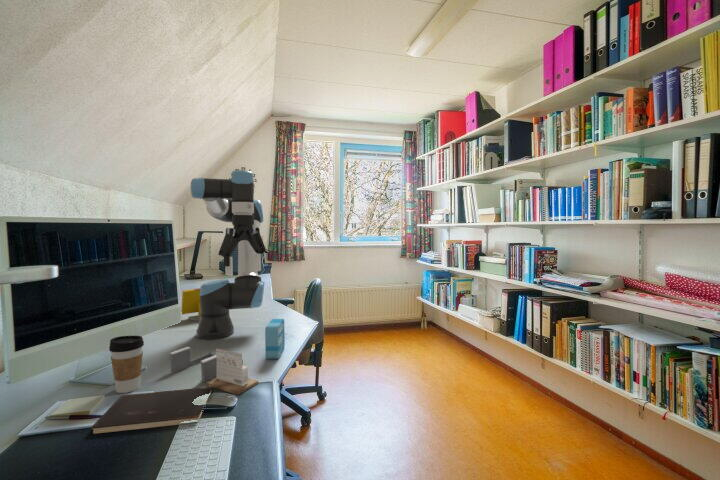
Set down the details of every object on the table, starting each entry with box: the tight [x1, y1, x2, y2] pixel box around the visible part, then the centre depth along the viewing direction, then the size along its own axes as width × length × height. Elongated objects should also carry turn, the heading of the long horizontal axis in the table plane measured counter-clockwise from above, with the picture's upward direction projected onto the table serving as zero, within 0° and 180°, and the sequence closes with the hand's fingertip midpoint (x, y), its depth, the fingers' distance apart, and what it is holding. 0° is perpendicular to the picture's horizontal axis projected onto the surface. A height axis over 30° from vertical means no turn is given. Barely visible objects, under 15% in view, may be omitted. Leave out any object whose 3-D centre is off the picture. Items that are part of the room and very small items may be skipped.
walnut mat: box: [205, 377, 259, 395], centre depth 105 cm, size 13×8×1 cm, turn 63°
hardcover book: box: [90, 386, 213, 435], centre depth 90 cm, size 16×23×2 cm
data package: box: [264, 318, 286, 360], centre depth 129 cm, size 12×4×12 cm, turn 1°
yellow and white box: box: [180, 287, 201, 322], centre depth 178 cm, size 20×8×16 cm, turn 130°
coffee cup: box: [108, 335, 145, 394], centre depth 102 cm, size 8×8×15 cm
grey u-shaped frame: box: [169, 346, 244, 383], centre depth 117 cm, size 16×16×6 cm
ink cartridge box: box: [215, 347, 249, 386], centre depth 105 cm, size 2×11×10 cm, turn 63°
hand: (244, 273), depth 127 cm, fingers open, 13 cm apart
